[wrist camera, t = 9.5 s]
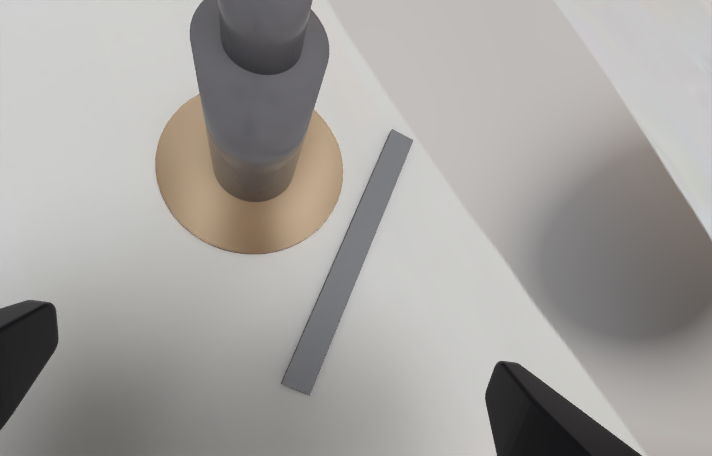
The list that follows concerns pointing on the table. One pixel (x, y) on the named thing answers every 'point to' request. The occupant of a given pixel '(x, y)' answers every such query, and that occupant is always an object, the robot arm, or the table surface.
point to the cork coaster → (237, 217)
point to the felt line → (346, 267)
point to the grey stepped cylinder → (257, 88)
